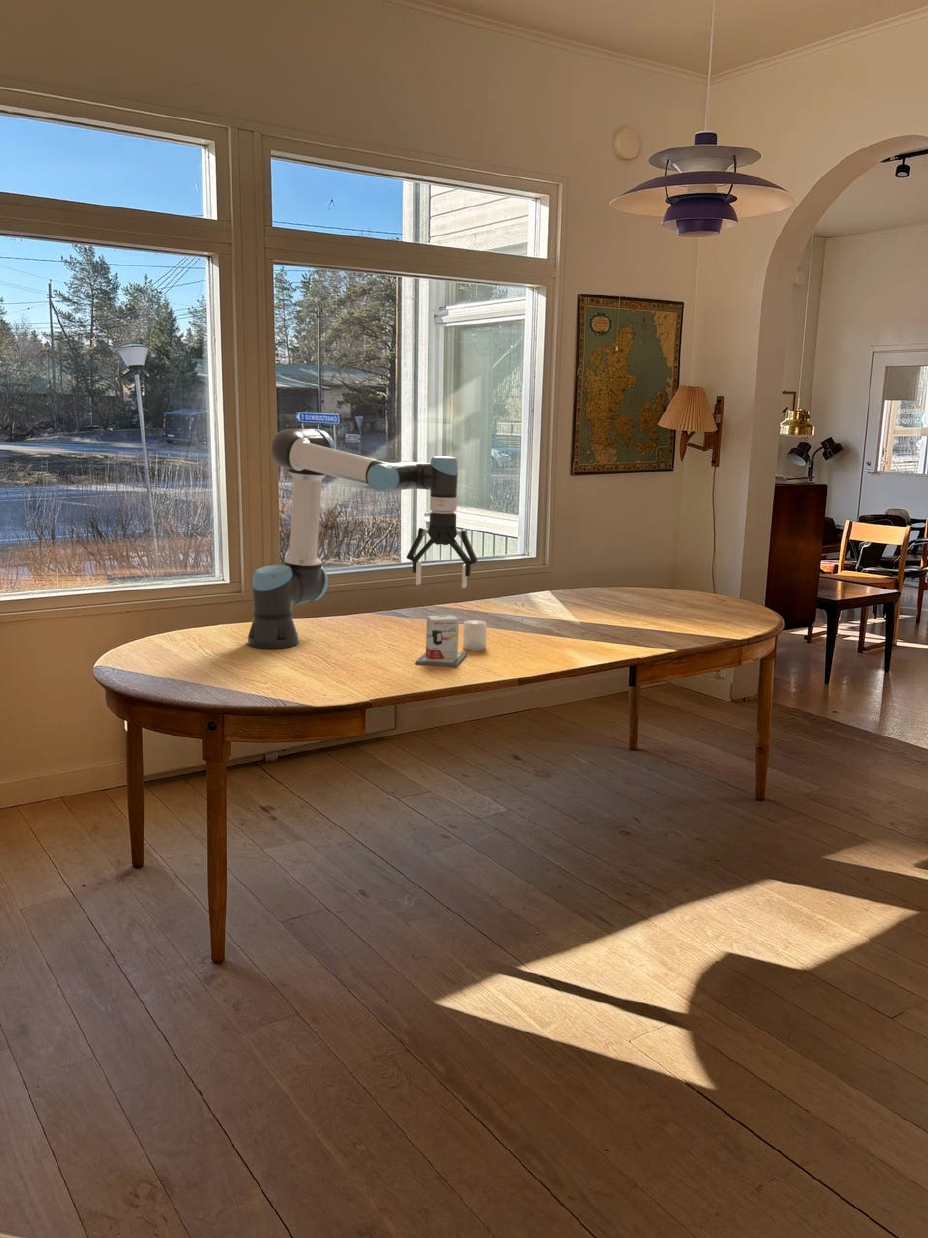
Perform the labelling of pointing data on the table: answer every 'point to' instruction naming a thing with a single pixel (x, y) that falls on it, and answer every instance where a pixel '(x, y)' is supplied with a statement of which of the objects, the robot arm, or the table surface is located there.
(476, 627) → the white ceramic tumbler
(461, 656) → the e-reader
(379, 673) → the table surface
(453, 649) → the ink box
